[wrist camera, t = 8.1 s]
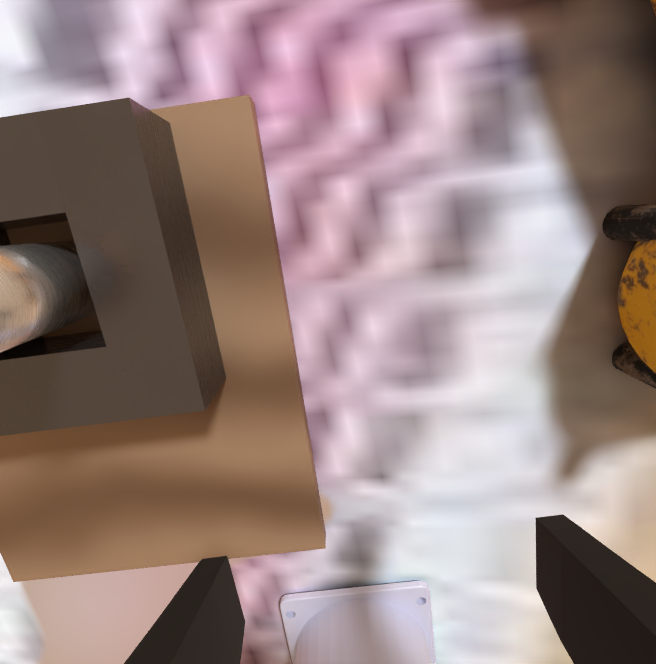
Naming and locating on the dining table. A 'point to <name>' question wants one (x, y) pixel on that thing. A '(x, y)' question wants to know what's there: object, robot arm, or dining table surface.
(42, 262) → the metal peg
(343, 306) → the dining table surface
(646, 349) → the power drill
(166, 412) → the socket block
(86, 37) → the dining table surface
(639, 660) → the robot arm
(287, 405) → the walnut board
